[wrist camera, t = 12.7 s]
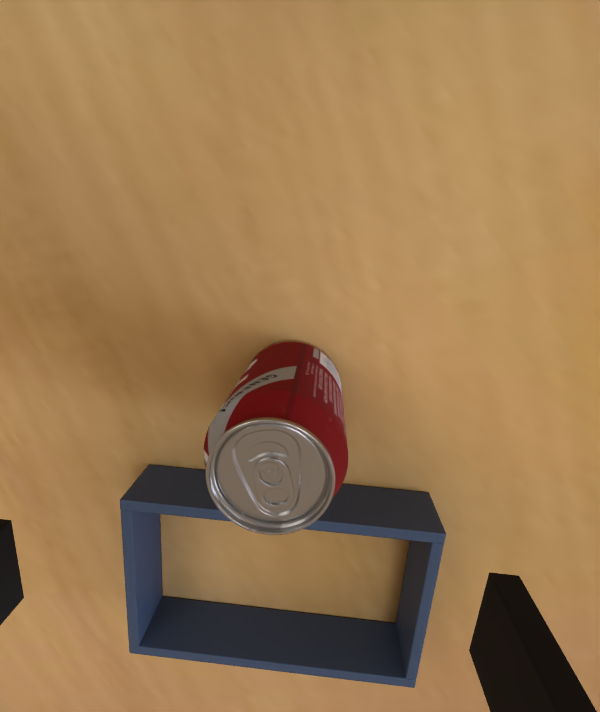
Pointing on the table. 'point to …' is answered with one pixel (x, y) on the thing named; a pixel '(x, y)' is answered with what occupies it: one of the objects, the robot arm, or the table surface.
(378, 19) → the table surface
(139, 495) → the open box
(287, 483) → the soda can
